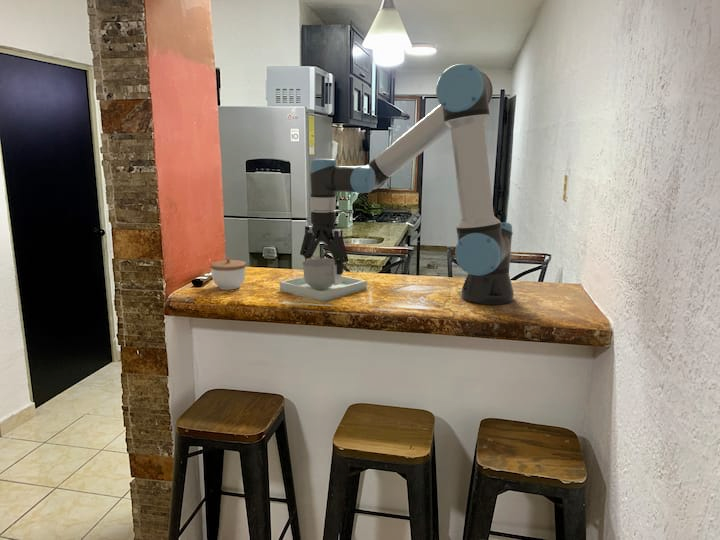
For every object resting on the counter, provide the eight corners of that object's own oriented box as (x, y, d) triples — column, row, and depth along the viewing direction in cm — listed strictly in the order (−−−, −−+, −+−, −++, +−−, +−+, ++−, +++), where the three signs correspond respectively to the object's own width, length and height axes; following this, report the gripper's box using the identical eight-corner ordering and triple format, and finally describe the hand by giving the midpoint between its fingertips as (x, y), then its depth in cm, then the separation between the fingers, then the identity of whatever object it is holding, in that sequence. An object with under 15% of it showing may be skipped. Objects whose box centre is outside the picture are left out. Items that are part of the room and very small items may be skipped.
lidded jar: (242, 292, 164) (240, 262, 162) (207, 291, 164) (205, 261, 162) (250, 283, 174) (249, 255, 172) (217, 283, 175) (215, 254, 172)
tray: (366, 289, 168) (366, 280, 168) (322, 302, 154) (322, 292, 153) (324, 279, 180) (324, 271, 180) (279, 290, 166) (279, 281, 165)
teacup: (330, 292, 159) (330, 265, 157) (296, 288, 162) (296, 262, 161) (346, 281, 172) (346, 257, 170) (315, 278, 175) (315, 254, 174)
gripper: (360, 213, 157) (360, 285, 162) (305, 207, 172) (306, 273, 177) (343, 215, 151) (343, 290, 156) (287, 208, 166) (289, 277, 171)
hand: (323, 281), depth 166 cm, fingers open, 11 cm apart
